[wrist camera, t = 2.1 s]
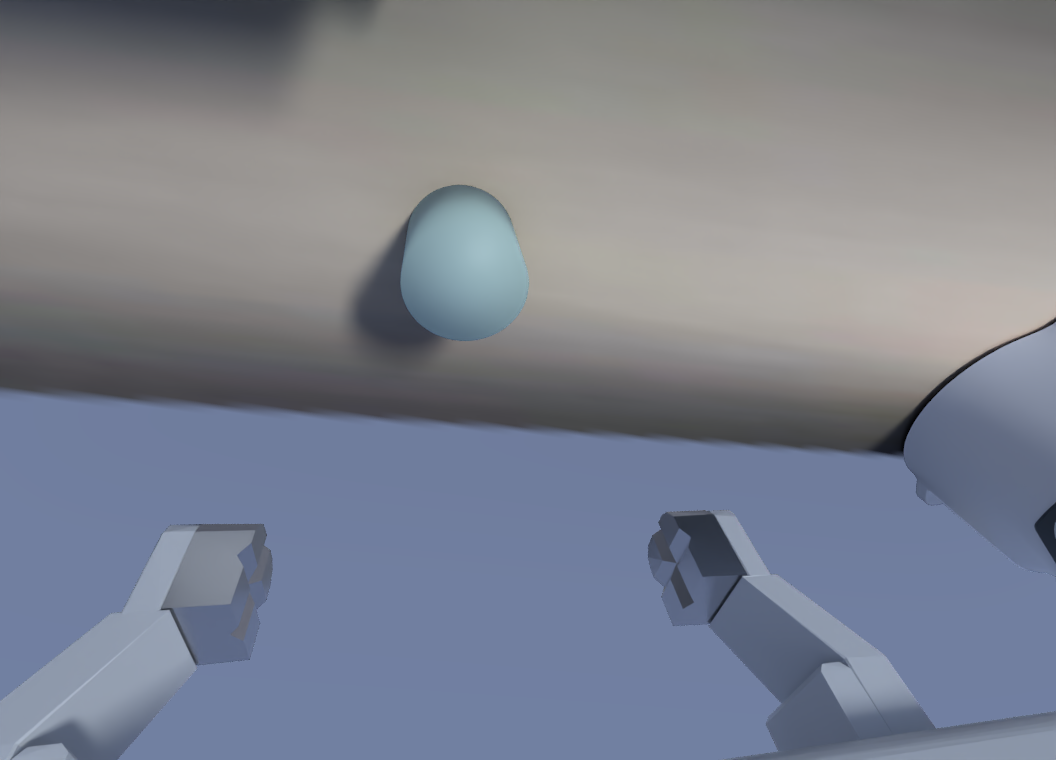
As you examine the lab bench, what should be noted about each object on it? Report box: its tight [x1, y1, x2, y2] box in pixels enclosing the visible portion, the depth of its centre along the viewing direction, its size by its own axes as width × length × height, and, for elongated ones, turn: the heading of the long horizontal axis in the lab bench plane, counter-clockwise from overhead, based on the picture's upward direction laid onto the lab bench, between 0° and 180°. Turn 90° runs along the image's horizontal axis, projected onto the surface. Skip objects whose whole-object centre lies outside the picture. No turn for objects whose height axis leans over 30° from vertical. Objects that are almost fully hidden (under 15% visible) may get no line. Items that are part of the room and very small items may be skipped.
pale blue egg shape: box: [400, 185, 529, 341], centre depth 22 cm, size 5×5×5 cm
